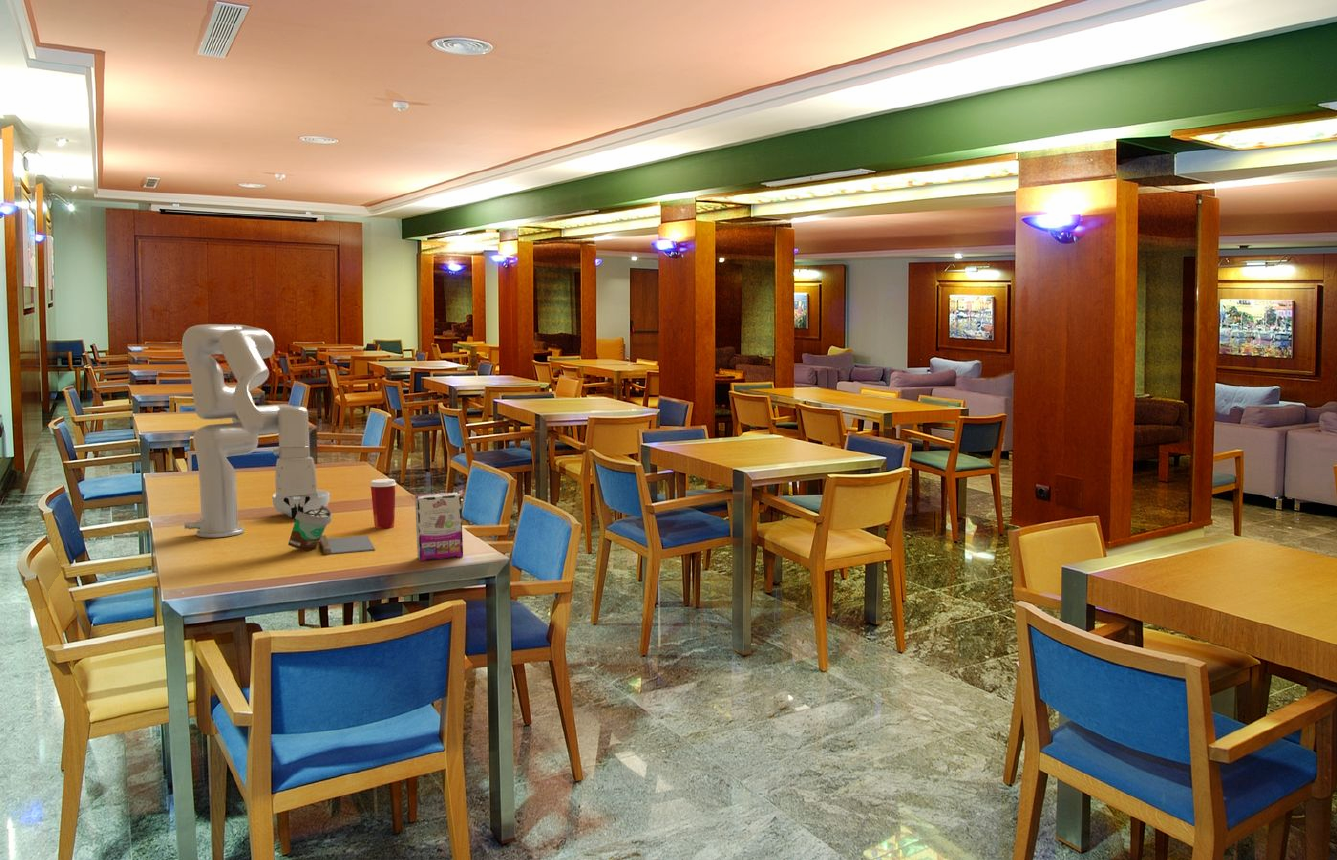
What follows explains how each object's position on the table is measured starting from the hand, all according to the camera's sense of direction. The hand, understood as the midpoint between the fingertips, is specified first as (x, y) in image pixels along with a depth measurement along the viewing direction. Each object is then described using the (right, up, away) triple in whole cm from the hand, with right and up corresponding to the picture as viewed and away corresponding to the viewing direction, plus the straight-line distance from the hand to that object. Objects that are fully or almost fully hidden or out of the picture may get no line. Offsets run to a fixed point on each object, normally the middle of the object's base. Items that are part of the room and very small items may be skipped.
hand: (297, 521), depth 260 cm
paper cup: (+14, -5, +31) cm, 34 cm away
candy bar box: (+40, -9, -8) cm, 42 cm away
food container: (+2, -7, +2) cm, 8 cm away
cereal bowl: (-17, -3, +49) cm, 52 cm away
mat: (+12, -7, +6) cm, 15 cm away
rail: (+6, -7, +4) cm, 10 cm away
